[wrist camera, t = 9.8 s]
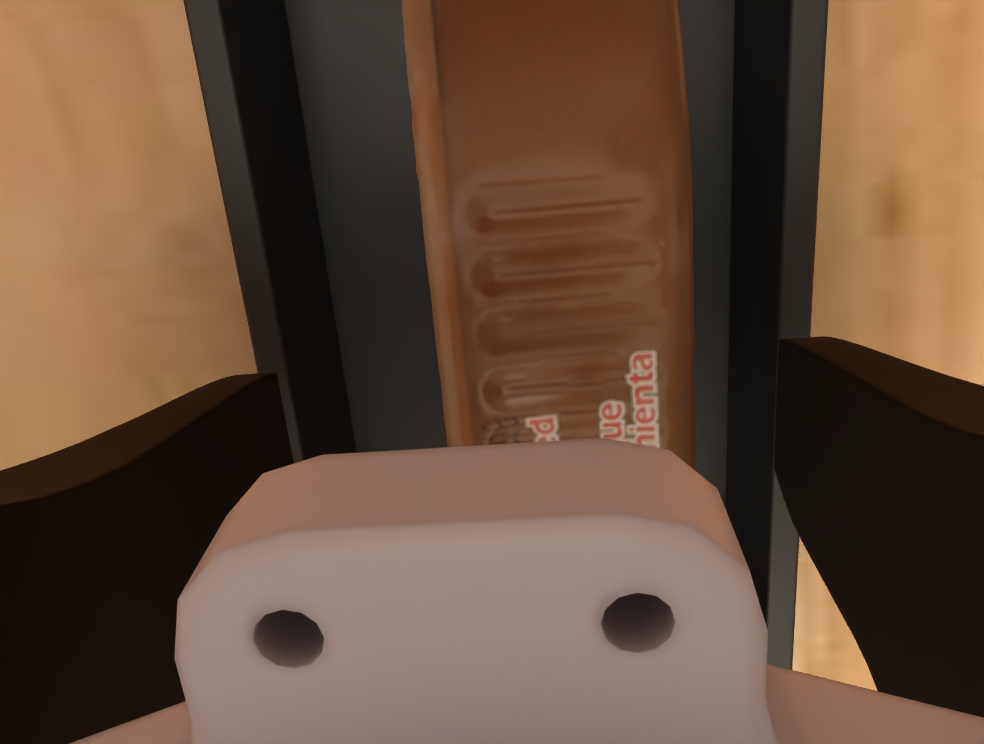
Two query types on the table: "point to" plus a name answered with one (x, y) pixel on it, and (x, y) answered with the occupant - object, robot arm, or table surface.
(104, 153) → the table surface
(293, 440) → the bin
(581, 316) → the tin
